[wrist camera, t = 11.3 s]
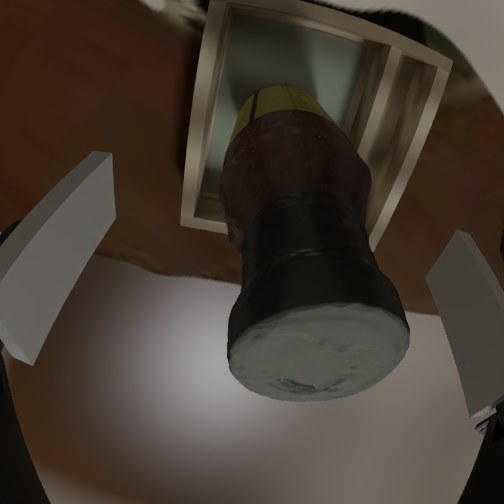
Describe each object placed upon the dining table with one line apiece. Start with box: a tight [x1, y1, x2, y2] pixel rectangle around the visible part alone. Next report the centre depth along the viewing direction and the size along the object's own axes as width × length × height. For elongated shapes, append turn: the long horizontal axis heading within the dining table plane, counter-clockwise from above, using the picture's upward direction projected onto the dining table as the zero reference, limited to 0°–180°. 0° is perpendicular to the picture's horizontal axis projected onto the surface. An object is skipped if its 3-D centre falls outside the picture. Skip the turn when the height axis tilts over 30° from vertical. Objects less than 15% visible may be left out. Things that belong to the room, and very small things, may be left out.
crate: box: [181, 0, 453, 252], centre depth 21 cm, size 18×16×4 cm
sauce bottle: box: [219, 84, 410, 402], centre depth 14 cm, size 7×6×20 cm
